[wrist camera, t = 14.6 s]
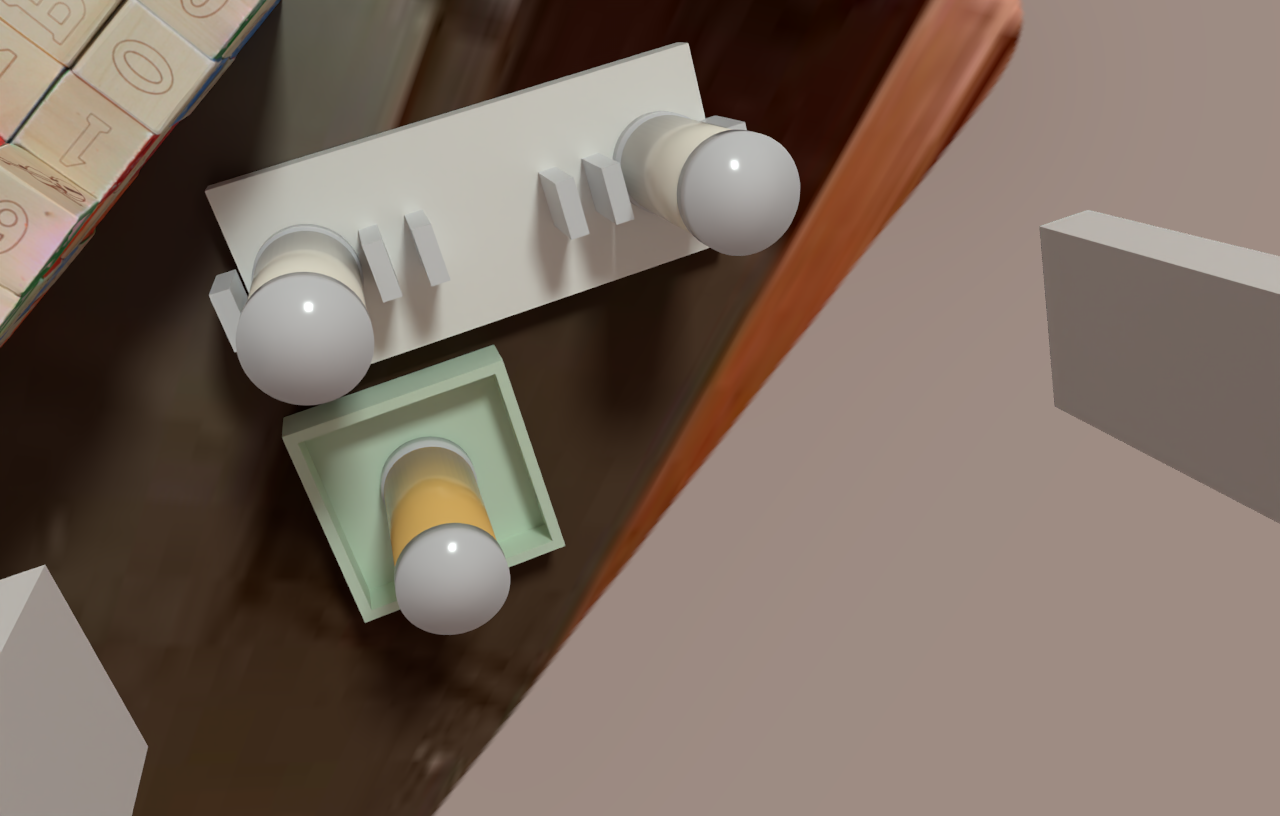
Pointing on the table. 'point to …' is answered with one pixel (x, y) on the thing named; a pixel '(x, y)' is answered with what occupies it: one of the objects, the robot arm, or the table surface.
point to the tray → (394, 414)
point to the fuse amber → (441, 538)
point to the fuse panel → (475, 203)
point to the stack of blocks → (93, 116)
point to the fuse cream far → (710, 180)
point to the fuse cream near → (305, 317)
